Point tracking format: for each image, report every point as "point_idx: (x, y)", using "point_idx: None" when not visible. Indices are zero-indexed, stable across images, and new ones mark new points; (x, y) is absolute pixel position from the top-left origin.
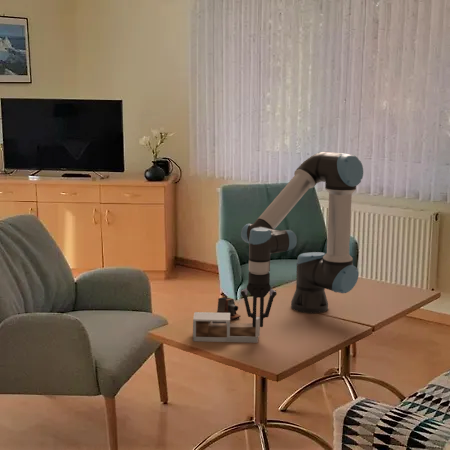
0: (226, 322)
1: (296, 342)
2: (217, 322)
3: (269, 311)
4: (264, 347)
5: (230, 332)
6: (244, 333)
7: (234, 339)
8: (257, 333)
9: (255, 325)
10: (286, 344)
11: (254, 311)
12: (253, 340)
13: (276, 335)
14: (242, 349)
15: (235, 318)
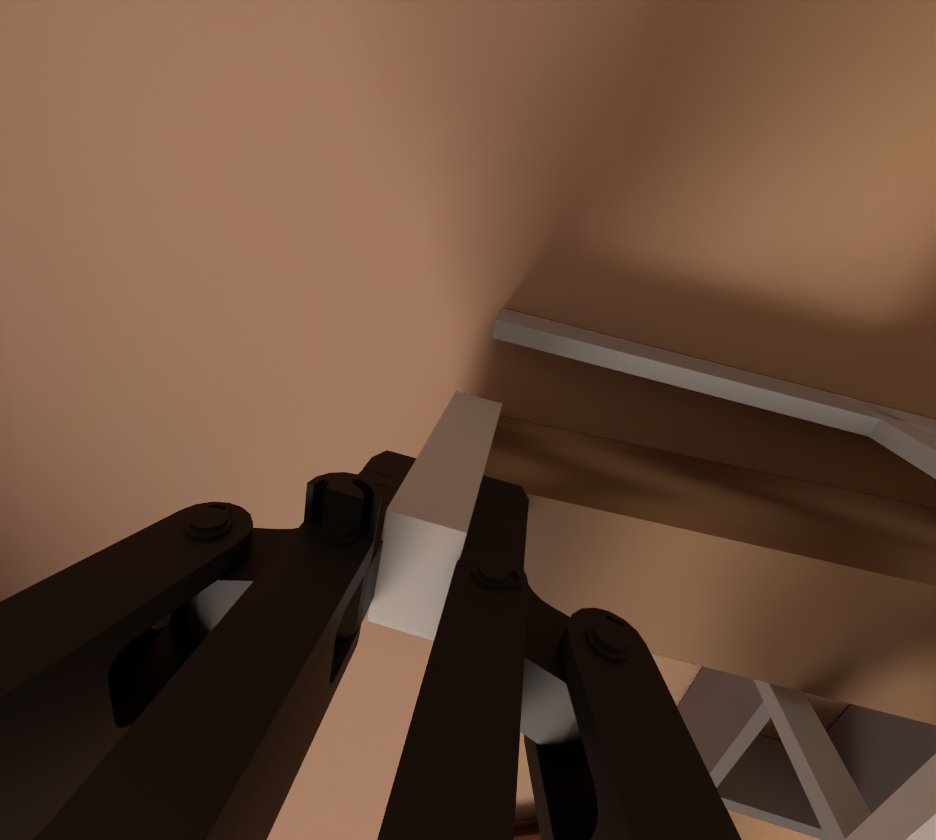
0: (732, 759)
1: (97, 240)
2: (792, 798)
3: (48, 583)
4: (464, 128)
5: (817, 520)
6: (627, 472)
7: (790, 388)
8: (475, 410)
9: (484, 488)
10: (198, 195)
11: (474, 704)
12: (552, 324)
13: (275, 461)
14: (792, 87)
15: (535, 829)
